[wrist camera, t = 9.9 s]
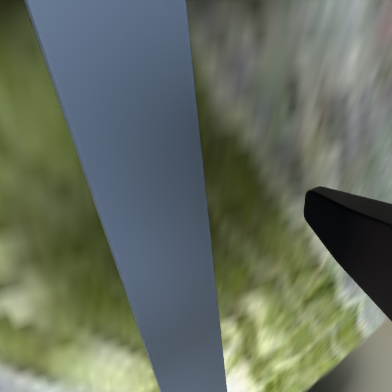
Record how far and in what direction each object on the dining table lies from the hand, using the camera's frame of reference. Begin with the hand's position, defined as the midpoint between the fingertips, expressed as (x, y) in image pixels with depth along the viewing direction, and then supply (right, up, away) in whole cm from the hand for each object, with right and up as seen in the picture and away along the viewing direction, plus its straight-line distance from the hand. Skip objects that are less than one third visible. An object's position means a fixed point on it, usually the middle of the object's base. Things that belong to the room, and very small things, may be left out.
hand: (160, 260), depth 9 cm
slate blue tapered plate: (-3, +4, +6) cm, 8 cm away
